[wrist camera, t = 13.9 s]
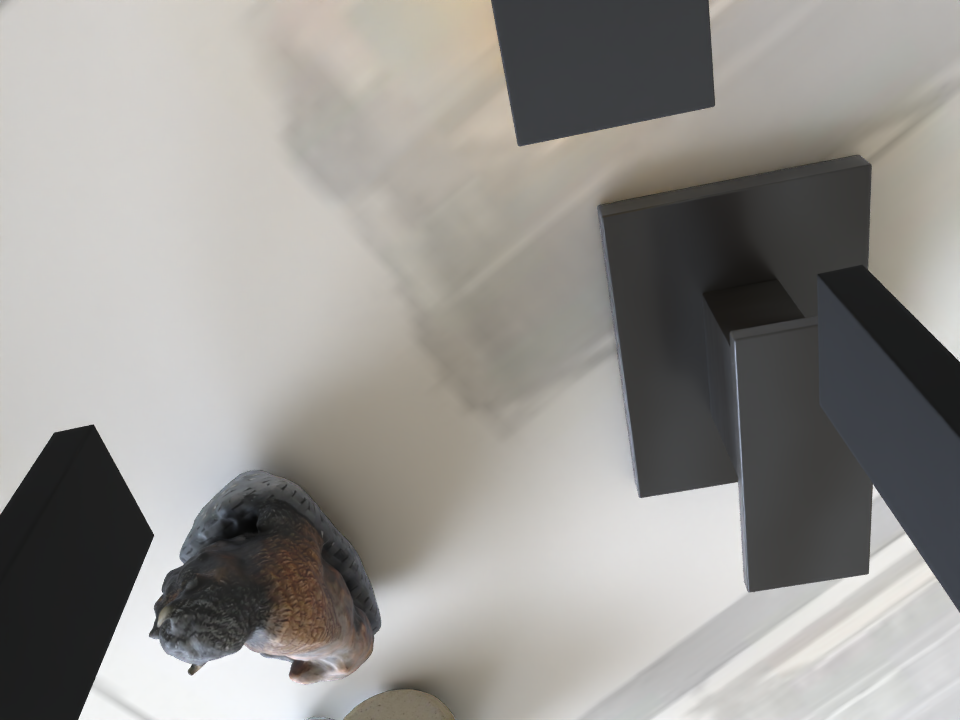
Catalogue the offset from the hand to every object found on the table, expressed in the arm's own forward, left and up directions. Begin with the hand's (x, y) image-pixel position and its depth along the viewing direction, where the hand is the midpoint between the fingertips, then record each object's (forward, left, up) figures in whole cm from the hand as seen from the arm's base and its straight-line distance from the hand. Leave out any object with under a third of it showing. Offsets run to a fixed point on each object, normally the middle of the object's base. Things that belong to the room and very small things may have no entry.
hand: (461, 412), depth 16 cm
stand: (+13, -7, -19) cm, 24 cm away
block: (+3, +6, -19) cm, 20 cm away
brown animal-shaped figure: (-5, -21, -19) cm, 29 cm away
